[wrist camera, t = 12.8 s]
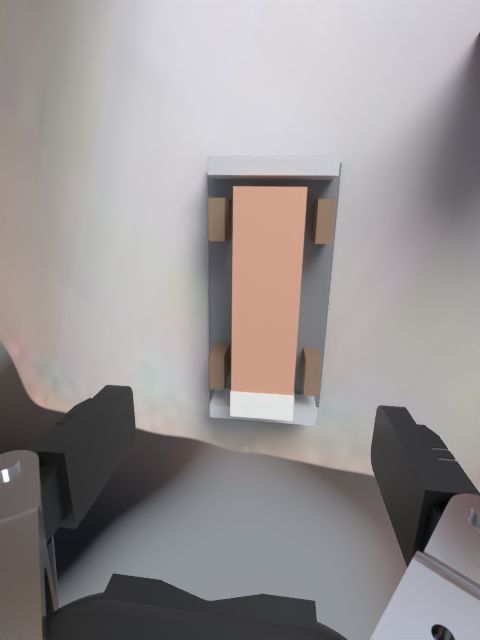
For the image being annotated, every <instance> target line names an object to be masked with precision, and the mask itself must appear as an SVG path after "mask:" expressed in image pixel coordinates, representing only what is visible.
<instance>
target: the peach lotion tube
mask: <svg viewBox="0 0 480 640" xmlns="http://www.w3.org/2000/svg"><path fill="white" fill-rule="evenodd" d="M306 202H307V187H261V186H233V256H232V358H231V391H230V416H234V417H247V418H260V419H273V420H286V421H293V407H294V380H295V366H296V351H297V336H298V321H299V306H300V291H301V276H302V261H303V246H304V231H305V216H306Z"/></svg>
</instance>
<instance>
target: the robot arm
mask: <svg viewBox="0 0 480 640" xmlns="http://www.w3.org/2000/svg"><path fill="white" fill-rule="evenodd" d="M134 437H135V415H134V403H133V392H132V389H131V387H129V386H117V385H106V386H105V387H104V388H103V389H102V390H101V391H100V392H99V393H98V394H96V395H95V396H94V397H93V398H89V399H87V400H85V401H83V402H81V403H79V404H77V405H75V406H74V407H73V408H72V409H71V410H70V411H69V412H67V413H66V414H65V416H64V417H62V418H61V419H60V420H59V421H58V422H56V425H53V426H52V427H51V428H50V429H49V430H48V431H46V432H45V433H44V434H43V435H42V436H41V437H40V438H39V439H38V440H37V441H35V442H34V443H33V444H32V445H31V446H30V447H29V448H28V449H27V450H17V451H11V452H7V453H4V454H1V455H0V640H347V639H346V638H345V637H343V636H342V635H340V634H339V633H338V632H336V631H334V630H332V629H331V628H329V627H327V626H325V625H323V624H321V623H319V622H317V619H316V606H315V601H311V600H304V599H297V598H289V597H282V596H275V595H266V594H259V595H252V596H245V597H237V598H230V599H223V600H215V601H207V600H204V599H201V598H199V597H197V596H195V595H192V594H190V593H188V592H186V591H183V590H181V589H179V588H177V587H175V586H172V585H170V584H168V583H166V582H163V581H162V580H157V579H149V578H142V577H135V576H127V575H120V574H113V575H112V577H111V579H110V581H109V583H108V585H107V588H106V589H105V591H104V592H103V593H97V594H94V595H90V596H86V597H84V598H81V599H78V600H76V601H73V602H71V603H69V604H67V605H65V606H63V607H61V608H59V602H58V590H57V577H56V565H55V552H54V542H53V537H52V535H53V534H54V533H55V531H56V530H57V529H58V527H64V528H72V529H76V528H77V527H78V525H79V524H80V522H81V521H82V519H83V518H84V516H85V515H86V513H87V512H88V510H89V509H90V507H91V506H92V504H93V503H94V501H95V500H96V498H97V497H98V495H99V494H100V492H101V491H102V489H103V488H104V486H105V485H106V483H107V482H108V480H109V479H110V477H111V476H112V474H113V473H114V471H115V470H116V468H117V466H118V465H119V464H120V462H121V461H122V459H123V458H124V456H125V455H126V453H127V452H128V450H129V449H130V447H131V445H132V443H133V440H134ZM371 464H372V469H373V472H374V475H375V477H376V480H377V483H378V486H379V489H380V492H381V494H382V497H383V500H384V503H385V506H386V509H387V511H388V514H389V517H390V520H391V523H392V526H393V528H394V531H395V534H396V537H397V540H398V543H399V545H400V548H401V551H402V554H403V557H404V559H405V562H406V565H407V570H406V572H405V574H404V576H403V578H402V579H401V581H400V583H399V585H398V587H397V589H396V591H395V593H394V595H393V596H392V598H391V600H390V602H389V604H388V606H387V608H386V610H385V612H384V614H383V615H382V617H381V619H380V621H379V623H378V625H377V627H376V629H375V631H374V632H373V634H372V637H371V638H370V640H480V493H479V492H478V490H477V489H476V487H475V486H474V485H473V483H472V482H471V480H470V479H469V478H468V476H467V475H466V473H465V472H464V471H463V469H462V468H461V466H460V465H459V463H458V462H457V461H455V458H454V456H453V455H452V454H451V452H450V451H448V448H447V447H446V445H445V444H444V442H443V441H442V440H441V438H440V437H439V436H438V435H437V434H436V433H434V432H433V431H432V430H430V429H429V428H428V427H426V426H425V425H418V424H416V423H415V421H414V420H413V418H412V416H411V415H410V413H409V412H408V410H407V409H406V408H405V407H396V406H382V405H380V406H378V408H377V411H376V418H375V425H374V432H373V438H372V445H371Z"/></svg>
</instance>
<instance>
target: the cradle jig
mask: <svg viewBox="0 0 480 640" xmlns="http://www.w3.org/2000/svg"><path fill="white" fill-rule="evenodd" d="M340 174H341V163H340V156H208V179H209V198H208V241H209V305H210V355H209V386H210V399H212V400H211V403H210V417H211V418H223V419H236V420H249V421H262V422H274V423H287V424H300V425H312V426H316V418H317V410H316V407H319V400H320V389H321V378H322V368H323V357H324V346H325V335H326V325H327V314H328V303H329V292H330V282H331V271H332V260H333V249H334V238H335V228H336V217H337V206H338V195H339V185H340ZM233 186H261V187H307V202H306V216H305V231H304V246H303V261H302V276H301V291H300V306H299V321H298V336H297V351H296V366H295V380H294V407H293V421H286V420H273V419H260V418H247V417H234V416H230V391H231V358H232V256H233Z"/></svg>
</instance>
